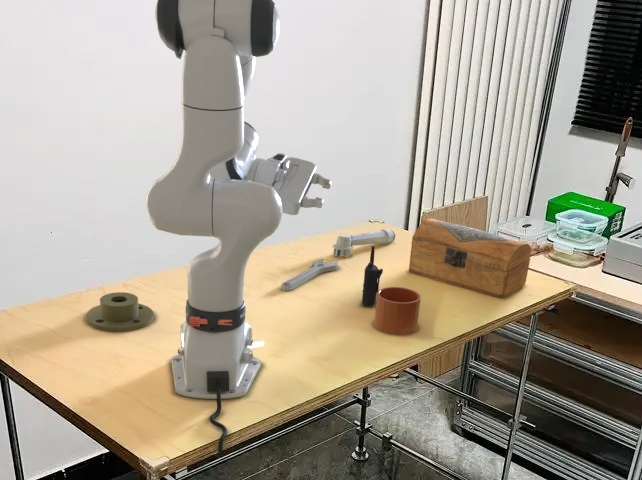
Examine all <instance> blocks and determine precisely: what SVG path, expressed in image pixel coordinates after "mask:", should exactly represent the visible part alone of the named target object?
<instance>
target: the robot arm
mask: <svg viewBox="0 0 642 480" xmlns="http://www.w3.org/2000/svg"><path fill="white" fill-rule="evenodd" d="M154 20H155V21H154V22H155V26H156V29H157V31H158V35H159V38H160V40H161V41H162V43H163V44H164V45H165V46H166V47H167V48H168V49H169V50H171V51H172V52H173V53H174V55H175V57H176V59H178V60H181V59H182V56H183V53H184V57H183V64H182V73H181V137H180V138H181V139H180V146H179V150H178V153H177V156H176V158H175V160H174V161H173V164H172V165H171V166H170V168H169V169H168V170H167V171H166V172H165V173H164V174H163V175H161V177H159V178H158V179H156V180H155V181H154V182H153V183H151V186H150V187H149V189H148V191H147V193H146V198H145V211H146V215H147V217H148V220H149V221H150V223H151V225H153V227H154V228H155V229H156V230H158V231H162V232H164V233H165V232H166V233H169V234H173V235H178V236H188V237H205V238H206V237H208V238H209V237H210V238H216V239H218V241H219V242H218V243H217V244H216V246H215V245H214V247H212V248H210V249H208V250H205V251H203V252H201V253H199V254H198V255H196V256H194V257H193V258H192V259H191V261H190V262H189V264H188V266H187V270H186V271H187V272H186V274H187V300H186V301H185V321H184V322H183V323H181V324H180V327H179V328H180V347H178V349H177V354H176V355H173V356H171V359H170V364H171V371H172V372H171V373H172V378H173V385H174V392H175V393H176V394H177V395H180V396H184V397H187V398H193V399H195V398H196V399H207V400H216V411H215V412H214V413H213V414H211V415H210V416H209V419H208V420H209V422H210V424H211V425H213V426H215V427H216V428H219V429H221V431H222V433H221V435H220V437H219V438H218V439H219V440H218V446H217V447H218V448H217V452H218V453H223V449H224V441H225V439H226V437H227V436H228V429H227V427H226V425H224V424H222V423H220V422H218V421H217V420H215V419H216V418H218V416H219V415H220V414H221V411H222V400H226V399H228V400H229V399H235V398H240V397H244V396H246V395H247V394H248V392H249V390H250V388H251V386H252V384H253V382H254V381H255V378H256V376H257V374H258V373H259V370H260V369H261V367H262V360H261V359H260V358H258V357H256V356H254V354H253V352H254V350H253V349H254V348H258V347H263V346H265V341H264V340H261V341H255V342H254V340H253V328H252V326H250V325H249V324H248V322H247V321H246V312H247V310H246V309H247V308H246V301H245V300H244V283H245V273H246V268H247V264H248V262H249V259H250V257H251V256H252V253H253V252H254V251H255V249H256V248H257V247H258V246H259V245H260V244H261V243H262V242H264V240H266V239H268V238H269V237H271V236H272V235H273V234H274V233H275V232H276V231H277V229H278V228H279V226H280V224H281V222H282V218H283V214H286V215H290V216H297V215H299V213H300V210H301V209H302V208H304V209H310V208H318V209H322V207H323V205H324V199H323V198H321V197H317V196H316V197H315V198H309V197H308V193H309V191H310V189H311V187H312V184H313V185H319V186H321V187H322V189H327V190H329V189H331V187H332V179H329V178H325V177H324V176H322V175H321V174H320V173H317V165H316V164H315V163H314V162H312V161H309V160H306V159H302V158H297V157H294V156H293V157H292V156H290V157H289V156H288V157H287V155H286V154H285V153H281V152H278V153H277V154H275V155H273V156H271V157H269V158H267V159H265V158H260V157H259V158H258V156H256V153H257V150H258V146H259V134H258V132H257V131H256V129H255V128H254V127H253V125H251V124H250V123H248V122H247V121H245V100H246V98H247V95H248V92H249V90H250V88H251V85H252V82H253V78H254V74H255V69H256V59H257V58H259V57H266V56H268V55H270V54H271V53H272V52H273V51H274V50H275V47H276V44H277V42H278V40H279V37H280V31H281V20H280V15H279V12H278V9H277V5H276V3H275V1H274V0H157V2H156V5H155V11H154ZM184 51H185V52H184Z"/></svg>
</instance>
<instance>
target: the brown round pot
mask: <svg viewBox="0 0 642 480" xmlns="http://www.w3.org/2000/svg"><path fill="white" fill-rule="evenodd" d="M421 301H422V297H421V294H420V293H419V292H417V291H416V290H413V289H411V288H408V287H402V286H390V287H389V286H387V287H386V286H385V287H383V288H382V287H381V289H380V288H379V289H378V292H377V293H376V302H375V309H374V320H373V321H374V322H373V323H374V327H375V328H376V329H377V330H379V331H381V332H383V333H386V334H390V335H396V336H399V335H400V336H402V335H404V336H405V335H409V334H412V333H415V332H416V331H417V330H418V325H419V317H420V308H421Z"/></svg>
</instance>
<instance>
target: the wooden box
mask: <svg viewBox="0 0 642 480" xmlns="http://www.w3.org/2000/svg"><path fill="white" fill-rule="evenodd" d="M410 247H411V248H410V256H409V265H408V272H410V273H412V274H415V275H420V276H422V277H427V278H430V279H434V280H436V281H439V282H443V283H448V284H450V285H454V286H458V287H462V288H466V289H469V290H473V291H474V292H475V291H476V292H478V293H482V294H486V295H488V296H492V297H496V298H499V299H504V298H506V297H507V296H509V295H511V294H513V293H514V292H516V291H517V290H519V289H521V287H524V286H525V285H526V282H527V278H528V273H529V268H530V263H531V256H532V247H531V245H530V244H529V243H527V242H525V241H521V240H517V239H513V238H509V237H505V236H502V235H498V234H495V233H492V232H488V231H485V230H480V229H476V228H473V227H469V226H466V225H461V224H456V223H452V222H447V221H443V220H438V219H435V218H432V217H430V218H426V219H424V220H423V221H422V222H420V224H419V226H418V227H417V228H416V230H415V231H414V233H413V235H412V237H411V246H410Z"/></svg>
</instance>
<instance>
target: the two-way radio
mask: <svg viewBox="0 0 642 480" xmlns="http://www.w3.org/2000/svg"><path fill="white" fill-rule="evenodd" d="M370 249H371V250H370V259H369V262H368V264H367V265H366V266H365V268H364V275H363V284H362V294H361V295H362V297H361V305H362V306H363V307H369V308H370V307H373V306H375V305H376V298H377V292H378V291H379V290H380V281H381V276H382V274H383V272H384V269H383V268H379V267H378V266H377V265H375V251H376V250H375V246H374V245H372V246H371V248H370Z"/></svg>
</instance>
